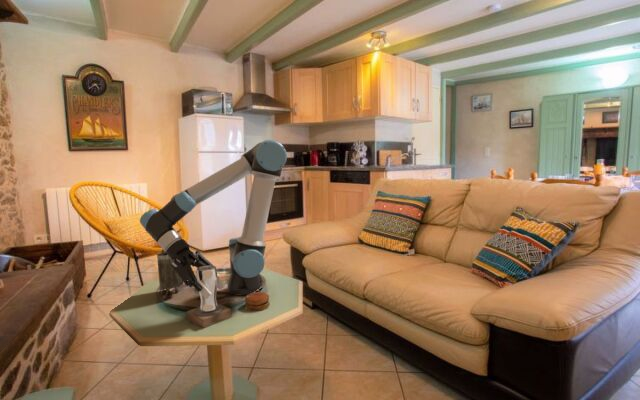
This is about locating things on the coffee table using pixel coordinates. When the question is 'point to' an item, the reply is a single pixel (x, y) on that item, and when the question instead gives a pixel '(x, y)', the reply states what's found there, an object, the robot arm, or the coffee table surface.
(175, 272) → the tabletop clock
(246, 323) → the coffee table surface
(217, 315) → the walnut plinth
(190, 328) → the coffee table surface
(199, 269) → the silver metal cup
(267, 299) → the burger
